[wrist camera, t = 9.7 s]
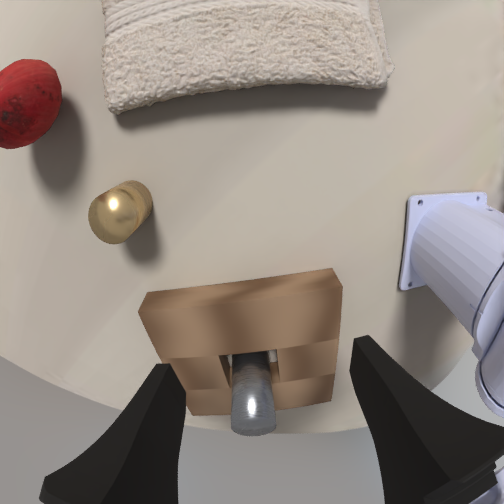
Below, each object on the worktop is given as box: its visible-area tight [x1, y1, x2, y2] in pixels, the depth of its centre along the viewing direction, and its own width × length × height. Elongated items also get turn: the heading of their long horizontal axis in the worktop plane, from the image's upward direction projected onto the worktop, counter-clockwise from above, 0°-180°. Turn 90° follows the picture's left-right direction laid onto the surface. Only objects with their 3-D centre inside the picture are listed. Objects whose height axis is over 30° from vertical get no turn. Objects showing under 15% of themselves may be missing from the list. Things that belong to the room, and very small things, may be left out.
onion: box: [0, 59, 62, 149], centre depth 9 cm, size 6×6×8 cm
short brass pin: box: [88, 181, 153, 244], centre depth 15 cm, size 3×3×4 cm
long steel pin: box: [231, 350, 276, 436], centre depth 19 cm, size 3×3×8 cm
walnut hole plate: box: [138, 268, 343, 416], centre depth 21 cm, size 14×14×2 cm
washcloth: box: [101, 0, 395, 115], centre depth 11 cm, size 12×18×3 cm, turn 97°
